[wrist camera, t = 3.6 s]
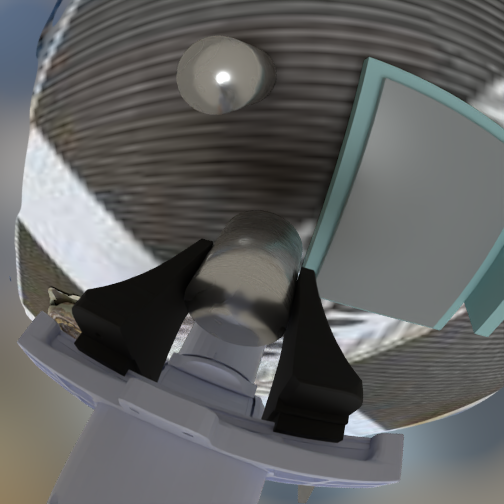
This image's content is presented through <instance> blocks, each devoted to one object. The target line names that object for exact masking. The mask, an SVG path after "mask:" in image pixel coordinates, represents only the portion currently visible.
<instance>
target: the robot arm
mask: <svg viewBox="0 0 504 504" xmlns="http://www.w3.org/2000/svg"><path fill="white" fill-rule="evenodd" d="M212 246H213V242H212V241H209V240H205V239H201V240H199V241H197V242H196V243H194V244H193V245H191V246H190V247H188V248H187V249H185V250H184V251H182V252H181V253H179V254H178V255H176V256H174V257H173V258H171V259H170V260H168V261H166V262H164V263H163V264H161V265H159V266H157V267H156V268H154V269H152V270H149V271H147V272H145V273H143V274H141V275H138V276H135V277H133V278H130V279H128V280H125V281H122V282H119V283H115V284H112V285H108V286H104V287H99V288H94V289H88V290H86V291H85V293H84V294H83V295H82V296H81V297H80V298H79V300H78V301H77V302H76V303H75V304H74V305H73V307H72V315H73V317H74V319H75V321H76V323H77V325H78V326H79V328H80V330H81V332H82V333H81V334H80V335H79V337H78V338H77V339H74V338H73V337H71V336H70V335H68V334H67V333H65V332H64V331H62V330H61V328H60V326H59V324H58V323H57V322H56V321H55V320H54V319H53V318H52V317H50V316H49V315H47V314H46V313H45V312H43V311H41V312H40V313H39V314H38V315H37V317H36V318H35V319H34V320H33V322H32V323H31V324H30V325H29V327H28V328H27V329H26V330H25V332H24V333H23V334H22V335H21V337H20V338H19V339H18V341H17V343H18V345H19V346H20V347H21V348H22V349H23V351H24V352H25V353H26V354H27V355H28V357H29V358H30V359H31V360H32V361H33V362H34V363H35V364H36V366H37V367H39V368H40V369H41V370H42V371H43V372H45V373H46V374H47V375H48V376H49V377H51V378H52V379H53V380H54V381H56V382H57V383H58V384H59V385H61V386H62V387H63V388H64V389H66V390H67V391H69V392H70V393H71V394H72V395H74V396H75V397H77V398H78V399H79V400H81V401H82V402H84V403H85V404H86V405H88V406H89V407H91V408H92V409H94V411H93V413H92V415H91V417H90V418H89V420H88V422H87V424H86V426H85V427H84V429H83V431H82V433H81V435H80V436H79V438H78V440H77V442H76V444H75V446H74V448H73V450H72V452H71V454H70V455H69V458H68V459H67V461H66V463H65V465H64V467H63V469H62V471H61V474H60V475H59V477H58V479H57V482H56V484H55V486H54V488H53V490H52V493H51V495H50V497H49V499H48V501H47V504H258V501H259V497H260V494H261V492H262V488H263V485H264V482H265V480H270V481H276V482H282V483H290V484H298V485H307V486H321V487H341V488H372V487H378V486H383V485H388V484H393V483H397V482H399V481H400V476H401V467H402V456H403V440H404V435H403V434H391V433H381V434H377V435H375V436H373V437H372V438H365V437H356V436H347V435H344V430H345V425H347V423H348V418H349V415H350V414H352V413H353V412H355V411H356V410H357V409H359V408H360V407H361V406H362V403H363V387H362V380H361V379H360V378H359V376H358V375H357V374H356V372H355V371H354V370H353V368H352V367H351V366H350V364H349V363H348V361H347V359H346V358H345V356H344V354H343V353H342V351H341V349H340V347H339V345H338V344H337V342H336V340H335V338H334V335H333V333H332V331H331V329H330V326H329V324H328V321H327V319H326V316H325V313H324V310H323V307H322V303H321V299H320V296H319V292H318V287H317V282H316V276H315V271H314V270H312V269H308V268H305V267H302V268H301V271H300V274H299V276H298V279H297V283H296V288H295V293H294V298H293V302H292V307H291V312H290V317H289V321H288V326H287V329H286V331H285V333H284V339H283V345H282V351H281V356H280V359H279V363H278V367H277V370H276V374H275V377H274V380H273V384H272V387H271V390H270V394H269V397H268V400H267V403H266V406H265V408H264V405H263V403H262V400H261V398H260V397H257V396H254V395H255V392H256V389H257V385H255V384H254V381H255V378H256V374H257V371H258V368H259V365H260V361H261V358H262V355H263V351H264V348H265V347H266V346H267V345H264V346H257V347H248V346H240V345H235V344H231V343H228V342H225V341H223V340H221V339H218V338H216V337H215V336H213V335H211V334H209V333H208V332H207V331H205V330H204V329H203V328H201V327H200V326H199V325H198V324H197V323H196V322H195V323H194V325H193V327H192V328H191V330H190V332H189V334H188V336H187V338H186V340H185V342H184V344H183V346H182V347H181V349H180V351H179V353H175V352H174V353H173V355H172V357H171V359H170V360H169V361H167V360H166V358H167V356H168V353H169V351H170V349H171V346H172V344H173V342H174V339H175V337H176V335H177V333H178V331H179V329H180V326H181V324H182V323H183V321H184V319H185V317H186V316H187V314H188V310H187V308H186V305H185V300H184V295H185V290H186V288H187V286H188V284H189V283H190V281H191V280H192V278H193V276H194V275H195V273H196V272H197V270H198V268H199V267H200V265H201V264H202V262H203V261H204V259H205V257H206V256H207V254H208V253H209V251H210V250H211V248H212Z"/></svg>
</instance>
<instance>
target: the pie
mask: <svg viewBox="0 0 504 504" xmlns="http://www.w3.org/2000/svg"><path fill="white" fill-rule="evenodd" d="M52 289H54V288H49V289H48V292H49V293H50V295H49V296H50V298H51V300H50V304H51V306H50V307H49V309H48V315H49V316H50V317H52V318H53V319H54V320H55V321H56V322H57V323H58V324H59V326H60V328H61V330H62V331H64V332H65V333H67V334H68V335H70V336H71V337H73V338H74V339H77V338H78V337H79V335H80V334H81V333H82V332H81V330H80V328H79V326H78V325H77V323H76V321H75V319H74V317H73V315H72V307H73V305H74V304H72V303H69V302H67V303H66V302H65V303H64V304H63V303H61V304H59V305H58V306H56V305H55V304H54V300H56V298H55V296H54V295H53V293H52ZM58 292H59V291H58ZM60 293H61V292H60ZM65 295H66V294H65ZM67 296H68V295H67ZM70 298H72V299H76V300H79V298H80V297H79V296H75V295H72V296H70Z"/></svg>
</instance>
